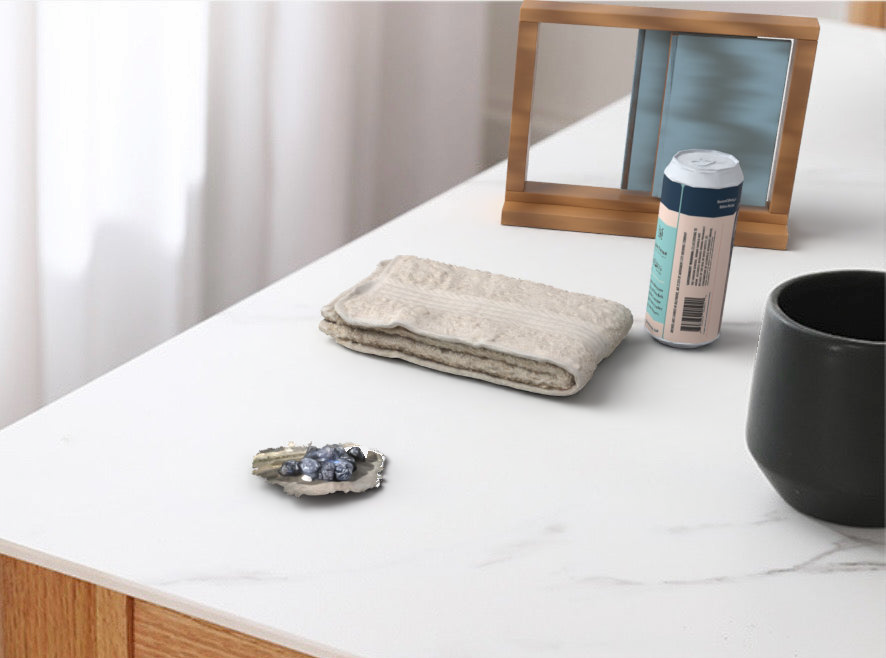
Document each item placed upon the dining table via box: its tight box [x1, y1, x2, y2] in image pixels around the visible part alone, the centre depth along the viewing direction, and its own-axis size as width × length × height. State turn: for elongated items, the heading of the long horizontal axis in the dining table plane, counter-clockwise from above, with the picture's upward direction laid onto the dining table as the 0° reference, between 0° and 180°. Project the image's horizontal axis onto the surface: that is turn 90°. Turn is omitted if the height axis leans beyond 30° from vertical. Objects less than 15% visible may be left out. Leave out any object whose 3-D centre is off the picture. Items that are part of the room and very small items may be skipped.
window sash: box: [619, 29, 759, 192], centre depth 119 cm, size 8×5×12 cm, turn 77°
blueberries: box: [251, 440, 385, 498], centre depth 85 cm, size 7×8×2 cm
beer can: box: [643, 149, 744, 349], centre depth 99 cm, size 5×5×12 cm
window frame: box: [500, 0, 821, 251], centre depth 117 cm, size 21×7×16 cm, turn 77°
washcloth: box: [318, 254, 634, 397], centre depth 100 cm, size 12×18×3 cm, turn 62°
